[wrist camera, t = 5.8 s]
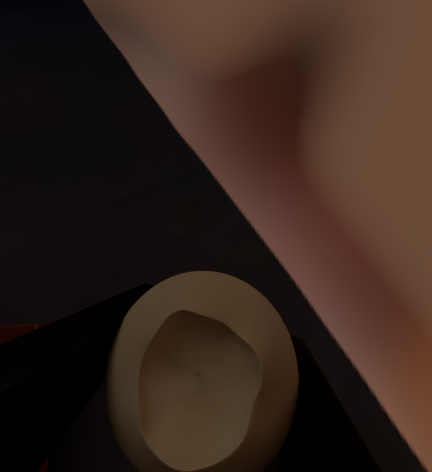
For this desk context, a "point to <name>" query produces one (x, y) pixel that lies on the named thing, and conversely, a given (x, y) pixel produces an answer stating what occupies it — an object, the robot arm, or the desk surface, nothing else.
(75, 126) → the desk surface
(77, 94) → the desk surface
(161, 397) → the candle
